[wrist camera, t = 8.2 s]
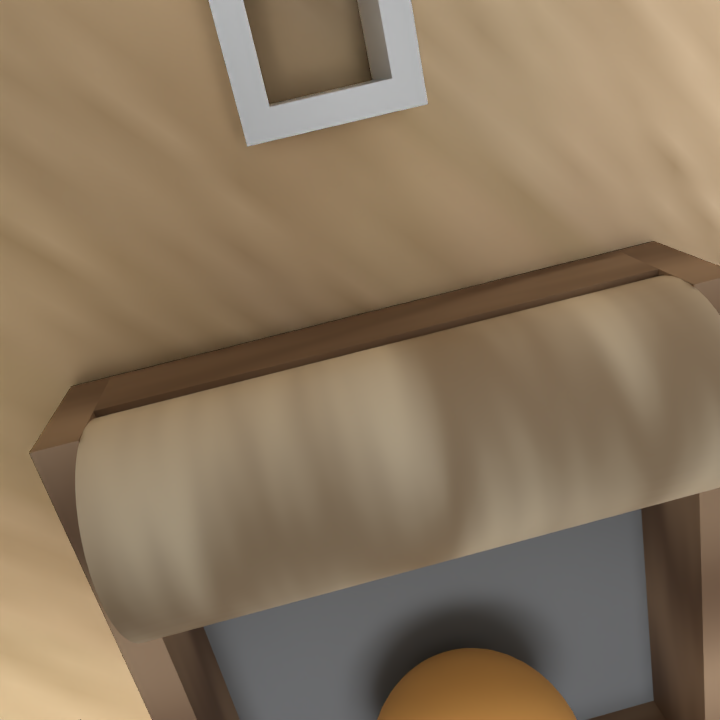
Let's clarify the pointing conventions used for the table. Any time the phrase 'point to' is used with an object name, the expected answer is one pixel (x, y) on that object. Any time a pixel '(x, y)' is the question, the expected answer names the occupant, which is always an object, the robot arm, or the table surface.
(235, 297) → the table surface
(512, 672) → the ball
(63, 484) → the brown wooden tray
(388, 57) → the grey square frame
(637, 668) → the mat
